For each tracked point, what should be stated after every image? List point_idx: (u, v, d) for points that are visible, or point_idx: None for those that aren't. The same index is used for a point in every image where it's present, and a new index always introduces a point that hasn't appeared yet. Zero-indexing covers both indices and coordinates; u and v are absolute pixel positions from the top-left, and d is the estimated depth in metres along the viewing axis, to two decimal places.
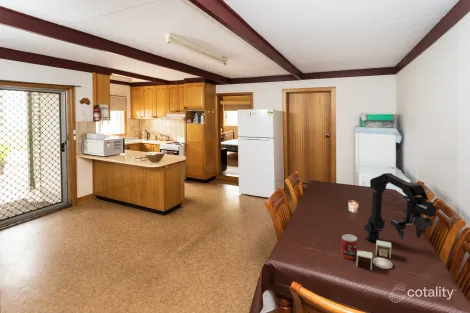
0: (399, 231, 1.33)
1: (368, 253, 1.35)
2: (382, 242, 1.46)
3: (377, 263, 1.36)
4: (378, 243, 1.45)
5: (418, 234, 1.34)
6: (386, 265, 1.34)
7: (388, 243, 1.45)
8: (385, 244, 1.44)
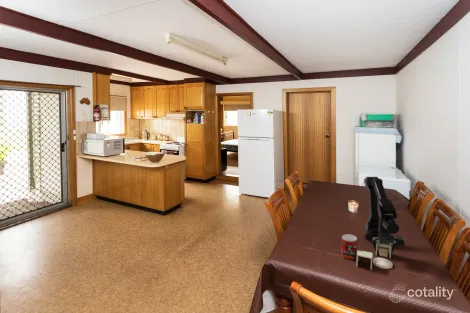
0: None
1: (368, 253, 1.35)
2: None
3: (377, 263, 1.36)
4: (378, 243, 1.45)
5: None
6: (386, 265, 1.34)
7: None
8: (385, 244, 1.44)
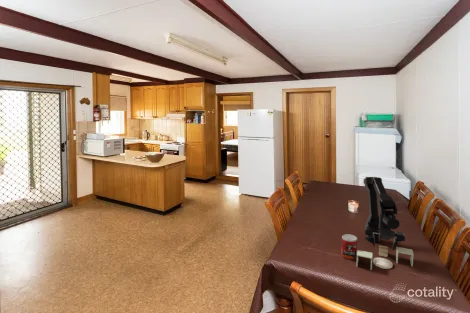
0: None
1: (368, 253, 1.35)
2: (403, 249, 1.38)
3: (377, 263, 1.36)
4: (399, 250, 1.37)
5: None
6: (386, 265, 1.34)
7: (409, 250, 1.37)
8: (406, 251, 1.36)
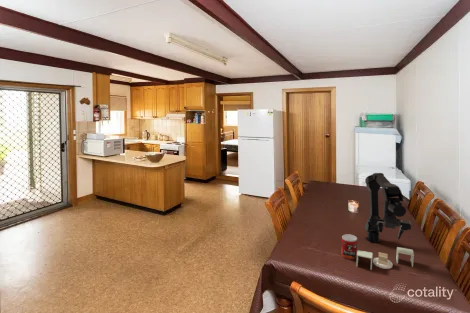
0: (376, 228, 1.42)
1: (368, 253, 1.35)
2: (403, 249, 1.38)
3: (377, 263, 1.36)
4: (399, 250, 1.37)
5: (398, 236, 1.38)
6: (386, 265, 1.34)
7: (410, 250, 1.37)
8: (407, 251, 1.36)
